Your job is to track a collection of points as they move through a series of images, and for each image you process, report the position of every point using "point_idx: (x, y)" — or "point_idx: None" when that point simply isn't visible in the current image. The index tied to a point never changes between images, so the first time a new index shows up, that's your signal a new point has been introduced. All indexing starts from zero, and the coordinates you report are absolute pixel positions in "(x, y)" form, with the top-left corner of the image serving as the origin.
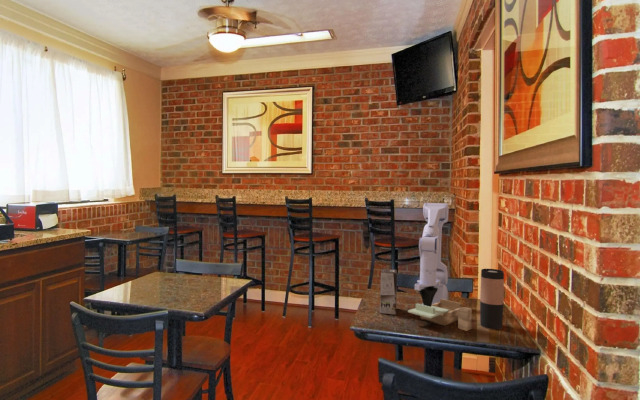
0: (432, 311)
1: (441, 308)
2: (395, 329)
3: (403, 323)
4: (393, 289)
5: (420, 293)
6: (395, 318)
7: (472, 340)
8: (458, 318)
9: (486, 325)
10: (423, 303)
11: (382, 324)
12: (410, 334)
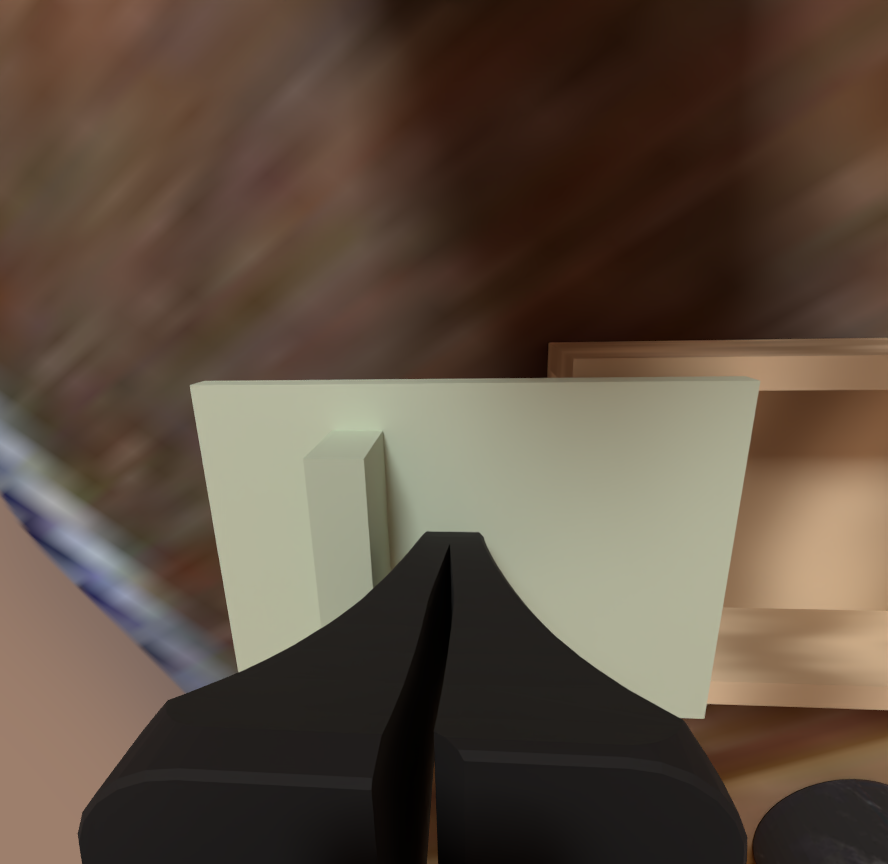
0: None
1: (692, 632)
2: (51, 375)
3: (257, 315)
4: None
5: (275, 667)
6: (319, 127)
7: None
8: None
9: (764, 859)
10: (409, 556)
11: (25, 181)
12: (87, 533)
